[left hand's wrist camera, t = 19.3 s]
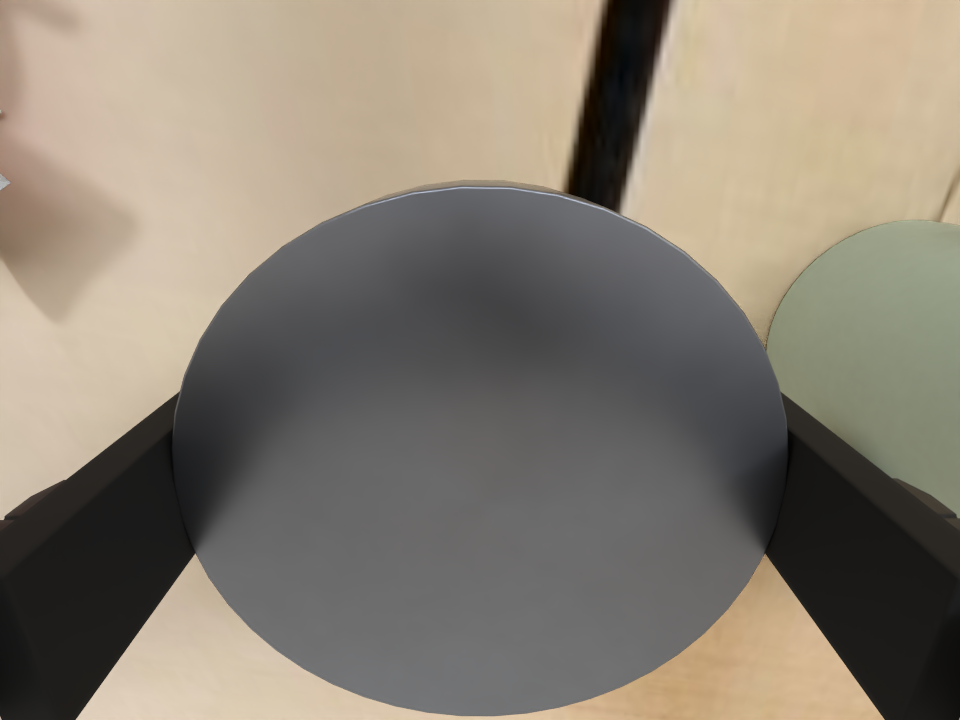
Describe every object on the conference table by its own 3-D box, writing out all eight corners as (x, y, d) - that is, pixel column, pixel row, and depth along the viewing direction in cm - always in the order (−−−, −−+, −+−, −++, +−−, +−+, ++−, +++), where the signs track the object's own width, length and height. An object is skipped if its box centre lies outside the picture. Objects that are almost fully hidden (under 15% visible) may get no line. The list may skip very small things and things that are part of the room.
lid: (112, 332, 11) (33, 370, 9) (633, 64, 9) (674, 41, 7) (381, 690, 15) (366, 773, 13) (793, 544, 13) (850, 614, 11)
